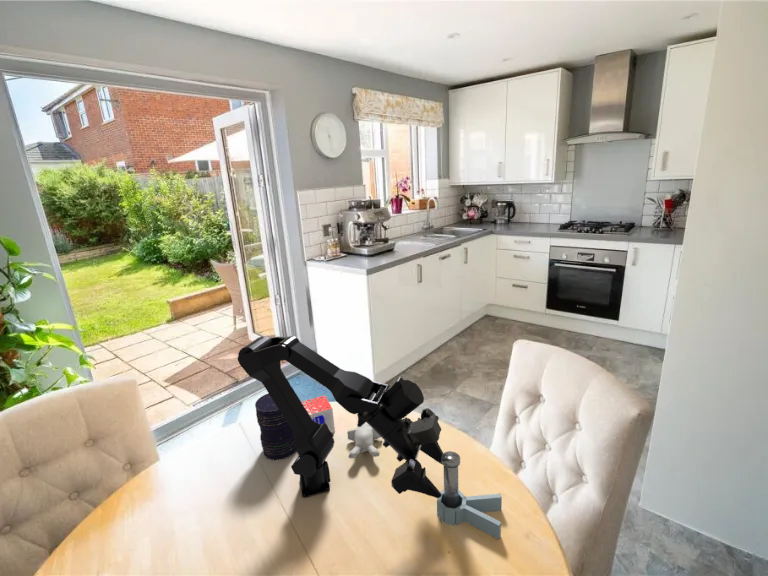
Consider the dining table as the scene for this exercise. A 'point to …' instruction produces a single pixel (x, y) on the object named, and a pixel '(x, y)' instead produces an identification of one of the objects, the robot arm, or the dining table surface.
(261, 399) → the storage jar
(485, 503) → the grey ring with prongs
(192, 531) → the dining table surface
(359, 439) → the grey figurine
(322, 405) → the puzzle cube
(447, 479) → the hinge pin
